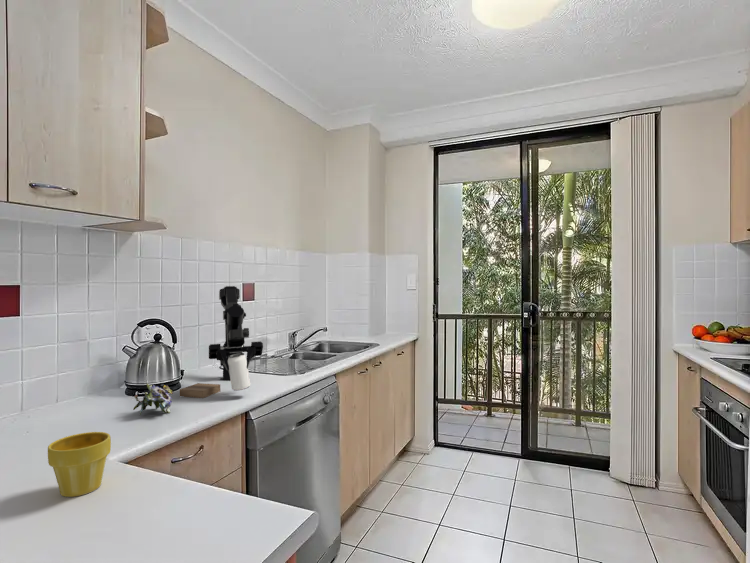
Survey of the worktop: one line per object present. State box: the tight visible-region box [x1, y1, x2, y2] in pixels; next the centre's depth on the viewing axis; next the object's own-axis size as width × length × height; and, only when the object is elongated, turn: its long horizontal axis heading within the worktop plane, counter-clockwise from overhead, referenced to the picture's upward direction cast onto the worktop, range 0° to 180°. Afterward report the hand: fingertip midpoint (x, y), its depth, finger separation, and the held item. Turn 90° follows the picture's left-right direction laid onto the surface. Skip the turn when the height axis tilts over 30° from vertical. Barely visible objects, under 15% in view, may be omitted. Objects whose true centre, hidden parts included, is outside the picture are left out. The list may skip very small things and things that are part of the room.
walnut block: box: [179, 382, 221, 399], centre depth 160 cm, size 10×10×3 cm
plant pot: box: [47, 431, 112, 498], centre depth 86 cm, size 10×10×10 cm
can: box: [228, 352, 251, 392], centre depth 154 cm, size 6×6×12 cm
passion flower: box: [133, 383, 174, 416], centre depth 136 cm, size 11×11×12 cm
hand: (237, 369), depth 152 cm, fingers closed on can, 6 cm apart
